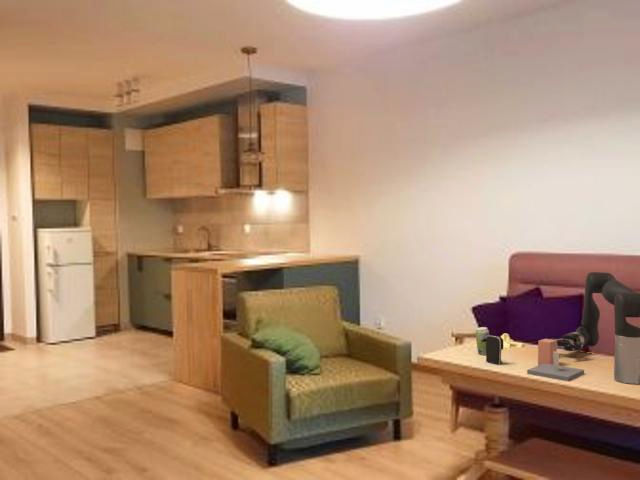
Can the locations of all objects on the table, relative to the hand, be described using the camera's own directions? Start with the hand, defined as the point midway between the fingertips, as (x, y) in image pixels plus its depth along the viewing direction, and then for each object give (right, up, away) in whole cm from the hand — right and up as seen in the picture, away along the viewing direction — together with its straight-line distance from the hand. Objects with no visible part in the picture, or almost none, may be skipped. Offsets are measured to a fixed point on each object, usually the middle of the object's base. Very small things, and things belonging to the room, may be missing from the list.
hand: (557, 346), depth 267 cm
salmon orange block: (-7, -6, -7) cm, 12 cm away
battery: (-28, -6, -5) cm, 30 cm away
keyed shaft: (-10, -5, -23) cm, 25 cm away
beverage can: (-29, -6, +12) cm, 32 cm away
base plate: (-10, -7, -23) cm, 26 cm away
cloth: (-14, -6, +33) cm, 37 cm away
